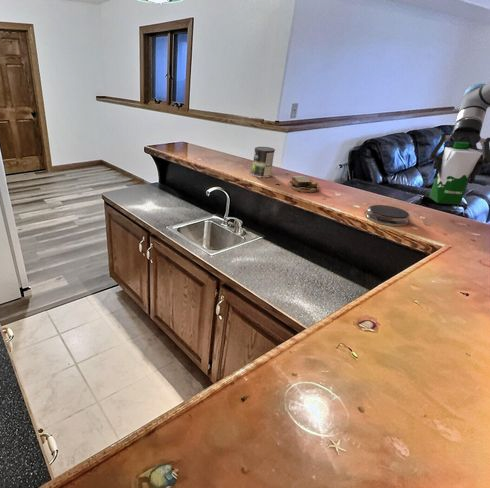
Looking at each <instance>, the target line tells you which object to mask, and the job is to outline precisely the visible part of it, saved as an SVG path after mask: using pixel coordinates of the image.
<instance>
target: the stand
mask: <svg viewBox="0 0 490 488" xmlns="http://www.w3.org/2000/svg"><path fill="white" fill-rule="evenodd" d="M365 217H366V219H367V220H368V221H370V222H373V223H375V224H379V225H382V226H385V227H396V228H397V227H398V228H399V227H405V226H407V225H408V222H409V219H410V217H411V214H410V213H409V212H408V211H406V210H405V209H402V208H399V207H396V206H392V205H387V204H386V205H385V204H373V205H370V206H368V207H367V210H366V214H365Z"/></svg>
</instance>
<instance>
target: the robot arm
mask: <svg viewBox="0 0 490 488" xmlns="http://www.w3.org/2000/svg"><path fill="white" fill-rule="evenodd" d="M489 108H490V81H489V82H487V83H477V84H473V85H470V86H469V87H468V88H467V89H466V90H465V92H464V94H463V96H462V97H461V103H460V107H459V110H458V113H457V117H456V119H455V124H454V127H453V130H452V133H451V134H449V135H447V134H446V133H441V135H440V137H439V140H438V143H437V144H436V146H435V147H434V149H433V150H432V151H431V153H430V155H429V157H428V160H430V161H433V165H432V169H433V170H435V172H434V174H433V179H434V180H435V179H436V178H437V175H438V173H439V169H440V166H441V162H442V158H443V154H444V150H445V148H444V149H443V150H442V151H441V152H439V151H440V150H441V148H442V146H443V145H444V143H446V142H447V141H448V140H449V142H450V143H449V145H447V147H453V146H454V143H455V142H456V141H460V142H468V143H470V144H469V147H468V148H470V149H474V150H477V151H479V148H478V146H477V145H478V143H480V146H481V153H482V155H481V156H480V158H479V160H478V161H477V163H476V165H475V167H474V170H473V172H472V175H471V177H470V180H469V182H468V184H473V183H474V181H475V179H476V176H477V175H479V174H481V172H482V169H483V167H488V166H489V165H490V137H486V138H482V137H481V133H482V128H483V124H484V122H485V117H486V115H487V110H488V109H489ZM479 152H480V151H479Z"/></svg>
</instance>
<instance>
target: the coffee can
mask: <svg viewBox="0 0 490 488" xmlns="http://www.w3.org/2000/svg"><path fill="white" fill-rule="evenodd" d="M275 151H276V149H275V148H273V147H269V146H257V147H254V153H253V162H252V169H251V176H252V177H254V178H255V177H256V178H261V177H263V178H265V177H267V178H270V177H271V176H272V170H273V162H274V157H275ZM263 178H262V179H263ZM265 179H266V178H265Z"/></svg>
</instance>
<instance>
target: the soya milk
mask: <svg viewBox="0 0 490 488" xmlns="http://www.w3.org/2000/svg"><path fill="white" fill-rule="evenodd" d="M469 144H470V143H468V142H460V141H456V142H455V143H454V146H453V147H448V146H445V147H444V149H445V150H444V149H443V150H444V154H443V158H442V162H441V166H440V169H439V173H438V175H437V178H436V179H435V178H434V181H433V184H432V186H431V190H430V192H429V195H428V198H430V200H433V201H434V202H435V203H437V204H444V205H457V206H458V205H459V206H460V205H461V204H462V201H463V198H464V196H465V192H466V189H467V188H468V184H469V181H470V177H471V175H472V172H473V170H474V167H475V165H476V163H477V161H478V160H479V158H480V156H481V157H482V156H483V153H482V151H481V152H480V151H477V150H474V149H470V148H468V147H469Z"/></svg>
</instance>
